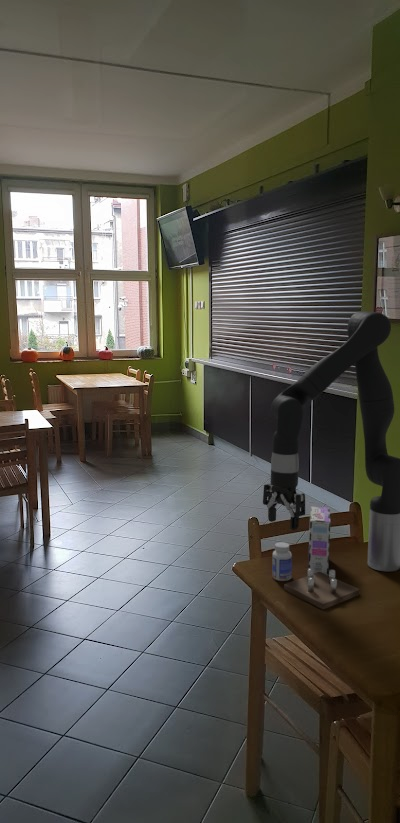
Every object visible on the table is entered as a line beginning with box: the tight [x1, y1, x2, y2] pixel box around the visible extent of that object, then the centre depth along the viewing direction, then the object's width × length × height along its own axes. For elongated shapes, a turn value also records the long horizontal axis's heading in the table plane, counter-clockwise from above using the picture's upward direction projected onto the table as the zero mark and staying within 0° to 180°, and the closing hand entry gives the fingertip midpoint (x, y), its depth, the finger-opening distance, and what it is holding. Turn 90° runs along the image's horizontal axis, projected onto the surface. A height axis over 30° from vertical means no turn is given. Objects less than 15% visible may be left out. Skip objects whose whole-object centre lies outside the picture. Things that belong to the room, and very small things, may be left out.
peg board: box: [283, 572, 360, 611], centre depth 160 cm, size 14×14×2 cm
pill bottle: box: [271, 541, 293, 582], centre depth 169 cm, size 5×5×10 cm
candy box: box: [308, 506, 331, 576], centre depth 176 cm, size 14×6×16 cm, turn 168°
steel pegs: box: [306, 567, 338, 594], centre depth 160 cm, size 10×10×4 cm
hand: (282, 525), depth 167 cm, fingers open, 8 cm apart
